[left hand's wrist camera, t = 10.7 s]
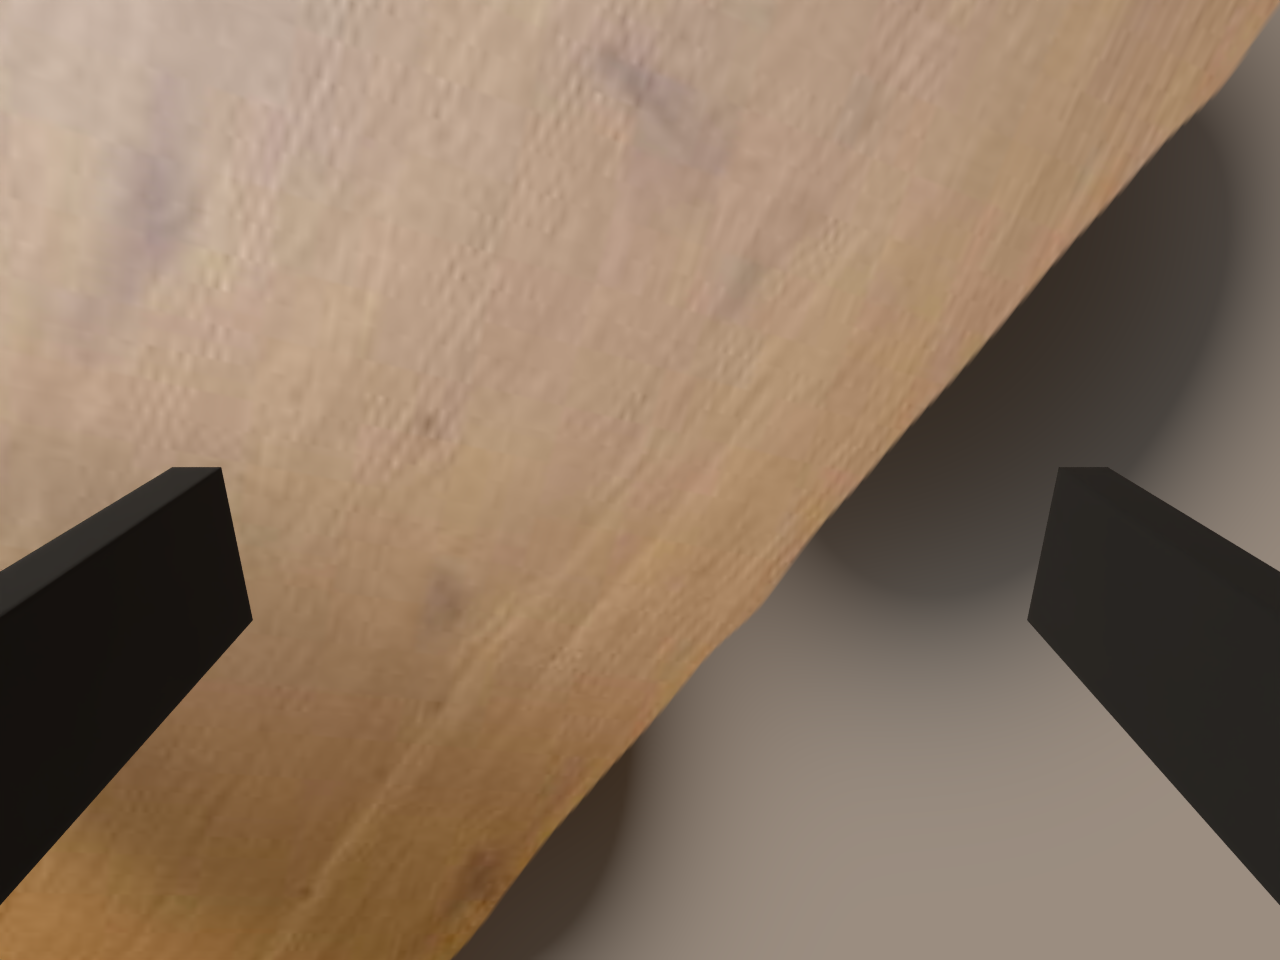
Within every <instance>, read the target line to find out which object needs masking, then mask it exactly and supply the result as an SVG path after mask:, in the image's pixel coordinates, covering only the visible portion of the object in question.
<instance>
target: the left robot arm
mask: <svg viewBox="0 0 1280 960" xmlns="http://www.w3.org/2000/svg"><path fill="white" fill-rule="evenodd" d="M252 620H253V619H252V614H251V609H250V604H249V600H248V595H247V590H246V585H245V580H244V575H243V571H242V566H241V561H240V556H239V551H238V546H237V542H236V537H235V532H234V527H233V522H232V517H231V512H230V508H229V503H228V498H227V493H226V488H225V483H224V479H223V474H222V469H221V467H172V468H170V469H169V470H167V471H165V472H164V473H162V474H160V475H159V476H157V477H156V478H154V479H152V480H151V481H149V482H147V483H146V484H144V485H142V486H141V487H139V488H137V489H136V490H134V491H132V492H131V493H129V494H128V495H126V496H124V497H123V498H121V499H119V500H118V501H116V502H114V503H113V504H111V505H109V506H108V507H106V508H104V509H103V510H101V511H100V512H98V513H96V514H95V515H93V516H91V517H90V518H88V519H86V520H85V521H83V522H81V523H80V524H78V525H77V526H75V527H73V528H72V529H70V530H68V531H67V532H65V533H63V534H62V535H60V536H58V537H57V538H55V539H53V540H52V541H50V542H49V543H47V544H45V545H44V546H42V547H40V548H39V549H37V550H35V551H34V552H32V553H30V554H29V555H27V556H25V557H24V558H22V559H21V560H19V561H17V562H16V563H14V564H12V565H11V566H9V567H7V568H6V569H4V570H2V571H1V572H0V905H1V904H2V903H3V901H4V900H5V899H6V898H7V897H8V896H9V895H10V893H11V892H12V891H13V890H14V889H15V888H16V887H17V886H18V884H19V883H20V882H21V881H22V880H23V879H24V878H25V877H26V875H27V874H28V873H29V872H30V871H31V870H32V869H33V868H34V866H35V865H36V864H37V863H38V862H39V861H40V860H41V859H42V857H43V856H44V855H45V854H46V853H47V852H48V851H49V849H50V848H51V847H52V846H53V845H54V844H55V843H56V842H57V840H58V839H59V838H60V837H61V836H62V835H63V834H64V833H65V831H66V830H67V829H68V828H69V827H70V826H71V825H72V824H73V822H74V821H75V820H76V819H77V818H78V817H79V816H80V815H81V813H82V812H83V811H84V810H85V809H86V808H87V807H88V805H89V804H90V803H91V802H92V801H93V800H94V799H95V798H96V796H97V795H98V794H99V793H100V792H101V791H102V790H103V789H104V787H105V786H106V785H107V784H108V783H109V782H110V781H111V780H112V778H113V777H114V776H115V775H116V774H117V773H118V772H119V771H120V769H121V768H122V767H123V766H124V765H125V764H126V763H127V761H128V760H129V759H130V758H131V757H132V756H133V755H134V754H135V752H136V751H137V750H138V749H139V748H140V747H141V746H142V745H143V743H144V742H145V741H146V740H147V739H148V738H149V737H150V736H151V734H152V733H153V732H154V731H155V730H156V729H157V728H158V727H159V725H160V724H161V723H162V722H163V721H164V720H165V719H166V717H167V716H168V715H169V714H170V713H171V712H172V711H173V710H174V708H175V707H176V706H177V705H178V704H179V703H180V702H181V701H182V699H183V698H184V697H185V696H186V695H187V694H188V693H189V692H190V690H191V689H192V688H193V687H194V686H195V685H196V684H197V682H198V681H199V680H200V679H201V678H202V677H203V676H204V675H205V673H206V672H207V671H208V670H209V669H210V668H211V667H212V666H213V664H214V663H215V662H216V661H217V660H218V659H219V658H220V657H221V655H222V654H223V653H224V652H225V651H226V650H227V649H228V648H229V646H230V645H231V644H232V643H233V642H234V641H235V640H236V638H237V637H238V636H239V635H240V634H241V633H242V632H243V631H244V629H245V628H246V627H247V626H248V625H249V624H250V623H251V622H252ZM1027 620H1028V622H1029V623H1030V624H1031V625H1032V626H1033V627H1034V628H1035V629H1036V631H1037V632H1038V633H1039V634H1040V635H1041V636H1042V637H1043V638H1044V640H1045V641H1046V642H1047V643H1048V644H1049V645H1050V646H1051V647H1052V649H1053V650H1054V651H1055V652H1056V653H1057V654H1058V655H1059V656H1060V658H1061V659H1062V660H1063V661H1064V662H1065V663H1066V664H1067V666H1068V667H1069V668H1070V669H1071V670H1072V671H1073V672H1074V673H1075V675H1076V676H1077V677H1078V678H1079V679H1080V680H1081V681H1082V682H1083V684H1084V685H1085V686H1086V687H1087V688H1088V689H1089V690H1090V692H1091V693H1092V694H1093V695H1094V696H1095V697H1096V698H1097V699H1098V701H1099V702H1100V703H1101V704H1102V705H1103V706H1104V707H1105V708H1106V710H1107V711H1108V712H1109V713H1110V714H1111V715H1112V716H1113V717H1114V719H1115V720H1116V721H1117V722H1118V723H1119V724H1120V725H1121V727H1122V728H1123V729H1124V730H1125V731H1126V732H1127V733H1128V734H1129V736H1130V737H1131V738H1132V739H1133V740H1134V741H1135V742H1136V743H1137V744H1138V746H1139V747H1140V748H1141V749H1142V750H1143V751H1144V752H1145V754H1146V755H1147V756H1148V757H1149V758H1150V759H1151V760H1152V761H1153V763H1154V764H1155V765H1156V766H1157V767H1158V768H1159V769H1160V771H1161V772H1162V773H1163V774H1164V775H1165V776H1166V777H1167V778H1168V780H1169V781H1170V782H1171V783H1172V784H1173V785H1174V786H1175V787H1176V788H1177V790H1178V791H1179V792H1180V793H1181V794H1182V795H1183V796H1184V798H1185V799H1186V800H1187V801H1188V802H1189V803H1190V804H1191V805H1192V807H1193V808H1194V809H1195V810H1196V811H1197V812H1198V813H1199V815H1200V816H1201V817H1202V818H1203V819H1204V820H1205V821H1206V822H1207V824H1208V825H1209V826H1210V827H1211V828H1212V829H1213V830H1214V831H1215V833H1216V834H1217V835H1218V836H1219V837H1220V838H1221V839H1222V840H1223V842H1224V843H1225V844H1226V845H1227V846H1228V847H1229V848H1230V849H1231V851H1232V852H1233V853H1234V854H1235V855H1236V856H1237V857H1238V858H1239V860H1240V861H1241V862H1242V863H1243V864H1244V865H1245V866H1246V867H1247V869H1248V870H1249V871H1250V872H1251V873H1252V874H1253V875H1254V877H1255V878H1256V879H1257V880H1258V881H1259V882H1260V883H1261V884H1262V886H1263V887H1264V888H1265V889H1266V890H1267V891H1268V892H1269V893H1270V895H1271V896H1272V897H1273V898H1274V899H1275V900H1276V901H1277V902H1278V904H1279V905H1280V572H1279V571H1278V570H1276V569H1274V568H1273V567H1271V566H1269V565H1268V564H1266V563H1264V562H1263V561H1261V560H1259V559H1258V558H1256V557H1254V556H1253V555H1251V554H1250V553H1248V552H1246V551H1245V550H1243V549H1241V548H1240V547H1238V546H1236V545H1235V544H1233V543H1231V542H1230V541H1228V540H1227V539H1225V538H1223V537H1222V536H1220V535H1218V534H1217V533H1215V532H1213V531H1212V530H1210V529H1208V528H1207V527H1205V526H1203V525H1202V524H1200V523H1199V522H1197V521H1195V520H1194V519H1192V518H1190V517H1189V516H1187V515H1185V514H1184V513H1182V512H1180V511H1179V510H1177V509H1175V508H1174V507H1172V506H1171V505H1169V504H1167V503H1166V502H1164V501H1162V500H1161V499H1159V498H1157V497H1156V496H1154V495H1152V494H1151V493H1149V492H1148V491H1146V490H1144V489H1143V488H1141V487H1139V486H1138V485H1136V484H1134V483H1133V482H1131V481H1129V480H1128V479H1126V478H1124V477H1123V476H1121V475H1119V474H1118V473H1116V472H1115V471H1113V470H1111V469H1110V468H1108V467H1059V469H1058V474H1057V479H1056V483H1055V488H1054V493H1053V498H1052V503H1051V508H1050V513H1049V517H1048V522H1047V527H1046V532H1045V537H1044V542H1043V546H1042V551H1041V556H1040V561H1039V566H1038V571H1037V575H1036V580H1035V585H1034V590H1033V595H1032V600H1031V604H1030V609H1029V614H1028V619H1027Z"/></svg>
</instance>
